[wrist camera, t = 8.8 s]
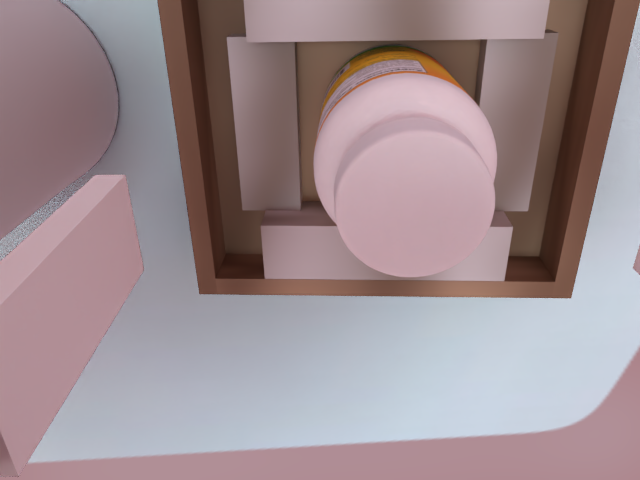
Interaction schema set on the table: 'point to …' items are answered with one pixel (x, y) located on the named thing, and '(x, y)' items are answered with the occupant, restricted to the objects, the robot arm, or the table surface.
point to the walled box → (303, 121)
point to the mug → (49, 105)
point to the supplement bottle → (404, 162)
